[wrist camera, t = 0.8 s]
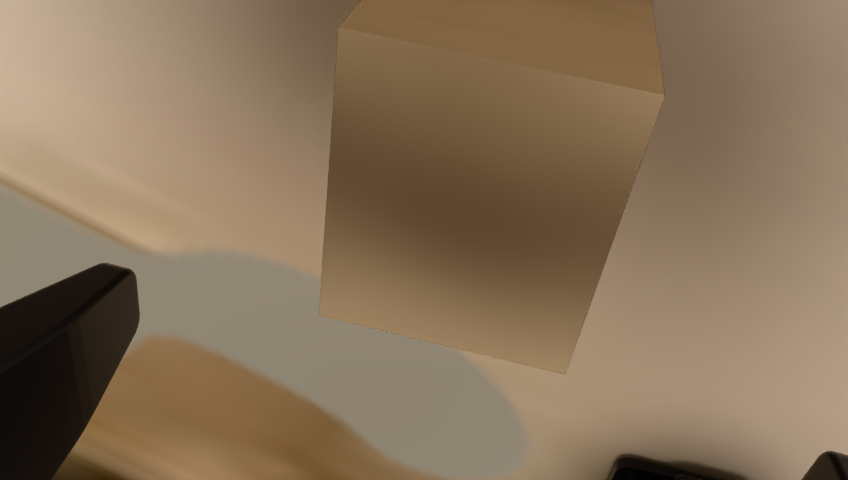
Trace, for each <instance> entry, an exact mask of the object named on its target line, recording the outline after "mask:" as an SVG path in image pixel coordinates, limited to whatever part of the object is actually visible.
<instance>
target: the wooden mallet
mask: <svg viewBox="0 0 848 480" xmlns="http://www.w3.org/2000/svg"><path fill="white" fill-rule="evenodd" d="M664 97H665V91H664V85H663V78H662V71H661V64H660V57H659V50H658V43H657V36H656V29H655V22H654V15H653V8H652V1H651V0H361V1H360V2H359V3H358V4H357V6H356V7H355V8H354V9H353V10H352V12H351V13H350V14H349V15H348V16H347V18H346V19H345V20H344V21H343V22H342V24H341V25H340V26H339V27H338V42H337V56H336V71H335V85H334V100H333V114H332V129H331V144H330V158H329V173H328V187H327V202H326V216H325V231H324V246H323V260H322V275H321V290H320V305H319V315H320V316H324V317H328V318H333V319H337V320H341V321H345V322H349V323H353V324H358V325H362V326H366V327H370V328H374V329H379V330H382V331H386V332H391V333H395V334H399V335H403V336H408V337H412V338H415V339H420V340H424V341H428V342H432V343H436V344H440V345H445V346H449V347H453V348H457V349H461V350H465V351H470V352H474V353H478V354H482V355H486V356H490V357H494V358H499V359H503V360H507V361H511V362H515V363H519V364H524V365H528V366H532V367H536V368H540V369H544V370H549V371H553V372H557V373H561V374H566V371H567V368H568V366H569V363H570V360H571V357H572V354H573V352H574V349H575V346H576V343H577V340H578V338H579V335H580V332H581V329H582V326H583V324H584V321H585V318H586V315H587V312H588V310H589V307H590V304H591V301H592V298H593V296H594V293H595V290H596V287H597V284H598V282H599V279H600V276H601V273H602V270H603V268H604V265H605V262H606V259H607V256H608V254H609V251H610V248H611V245H612V242H613V240H614V237H615V234H616V231H617V228H618V226H619V223H620V220H621V217H622V214H623V212H624V209H625V206H626V203H627V200H628V198H629V195H630V192H631V189H632V186H633V184H634V181H635V178H636V175H637V172H638V170H639V167H640V164H641V161H642V158H643V156H644V153H645V150H646V147H647V144H648V142H649V139H650V136H651V133H652V130H653V128H654V125H655V122H656V119H657V116H658V114H659V111H660V108H661V105H662V102H663V100H664Z"/></svg>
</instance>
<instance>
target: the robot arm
mask: <svg viewBox="0 0 848 480" xmlns="http://www.w3.org/2000/svg"><path fill="white" fill-rule="evenodd" d="M139 315H140V312H139V301H138V291H137V280H136V275H135V273H134V272H133V271H132V270H131V269H129V268H125V267H121V266H117V265H113V264H109V263H100V264H98V265H95V266H93V267H91V268H88V269H86V270H84V271H81V272H79V273H77V274H75V275H72V276H70V277H68V278H65V279H63V280H61V281H59V282H57V283H54V284H52V285H50V286H48V287H45V288H43V289H41V290H38V291H36V292H34V293H31V294H29V295H27V296H25V297H23V298H21V299H18V300H16V301H14V302H11V303H9V304H7V305H4V306H2V307H0V480H51V479H52V478H53V476H54V475H55V473H56V472H57V470H58V469H59V467H60V466H61V464H62V463H63V461H64V460H65V458H66V457H67V456H68V454H69V453H70V451H71V450H72V448H73V447H74V445H75V444H76V442H77V440H78V439H79V437H80V436H81V434H82V433H83V431H84V429H85V428H86V426H87V424H88V422H89V421H90V419H91V417H92V415H93V413H94V411H95V410H96V408H97V406H98V404H99V402H100V400H101V398H102V396H103V394H104V392H105V390H106V388H107V387H108V385H109V383H110V381H111V379H112V377H113V375H114V373H115V371H116V369H117V367H118V365H119V363H120V362H121V360H122V358H123V356H124V354H125V352H126V350H127V348H128V346H129V344H130V342H131V340H132V339H133V337H134V335H135V333H136V330H137V327H138V324H139V318H140V316H139ZM608 480H718V479H714V478H709V477H705V476H701V475H697V474H693V473H689V472H685V471H681V470H677V469H673V468H669V467H665V466H661V465H657V464H653V463H649V462H644V461H640V460H636V459H632V458H623V459H620V460H618V461H617V462H616V463H615V465H614V467H613V469H612V471H611V473H610V475H609V478H608ZM802 480H848V455H845V454H841V453H837V452H833V451H826V452H824V453H822V454H821V455H820V456H819V457H818V458H817V460H816V461H815V462H814V464H813V465H812V466H811V468H810V469H809V470H808V472H807V473H806V474H805V476H804V477H803V478H802Z"/></svg>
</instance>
